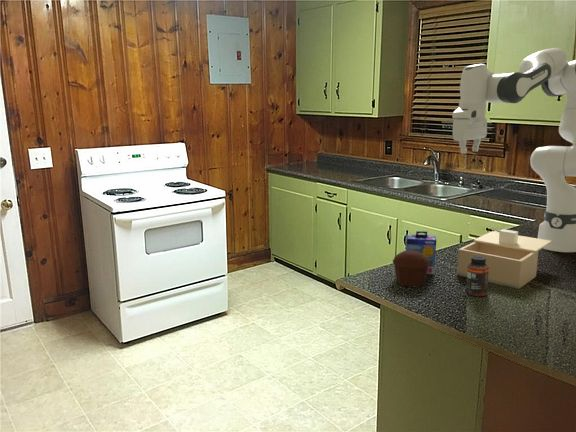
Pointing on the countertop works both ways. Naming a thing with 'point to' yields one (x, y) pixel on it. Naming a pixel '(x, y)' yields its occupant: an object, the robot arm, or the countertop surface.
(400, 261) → the muffin
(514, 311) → the countertop surface
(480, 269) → the supplement bottle
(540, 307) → the countertop surface
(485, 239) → the carton lid
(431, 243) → the ink cartridge box
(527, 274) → the carton
